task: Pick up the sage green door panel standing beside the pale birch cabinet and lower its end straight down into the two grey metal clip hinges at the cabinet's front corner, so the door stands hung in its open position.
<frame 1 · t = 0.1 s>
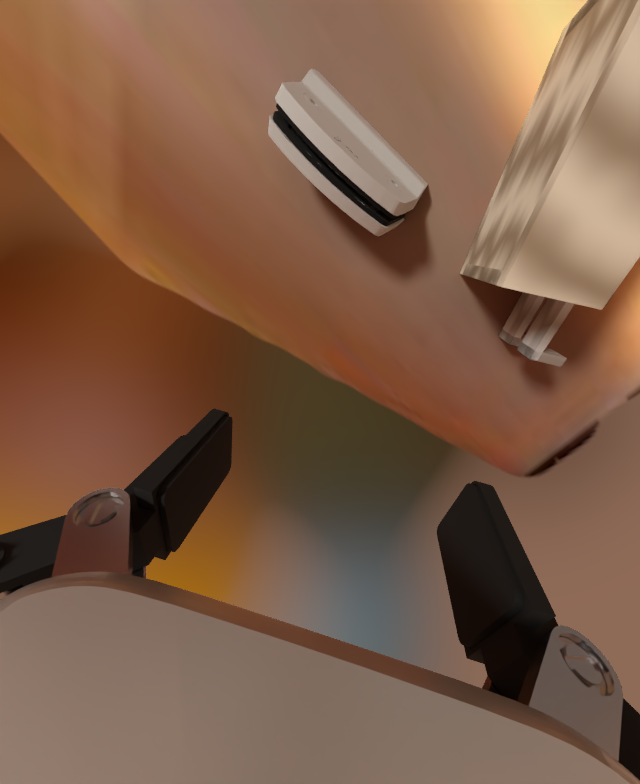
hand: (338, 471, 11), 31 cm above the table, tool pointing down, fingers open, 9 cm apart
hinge: (351, 168, 31), on the table
cabinet: (540, 180, 28), on the table
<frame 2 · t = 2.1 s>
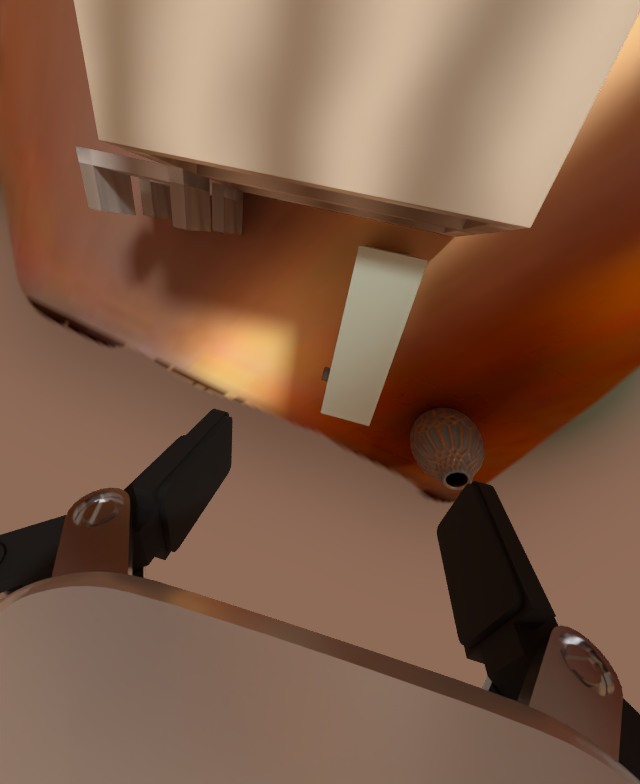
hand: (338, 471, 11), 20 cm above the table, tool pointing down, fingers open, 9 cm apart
vase: (438, 422, 31), on the table
door: (369, 316, 27), on the table
cabinet: (350, 152, 21), on the table
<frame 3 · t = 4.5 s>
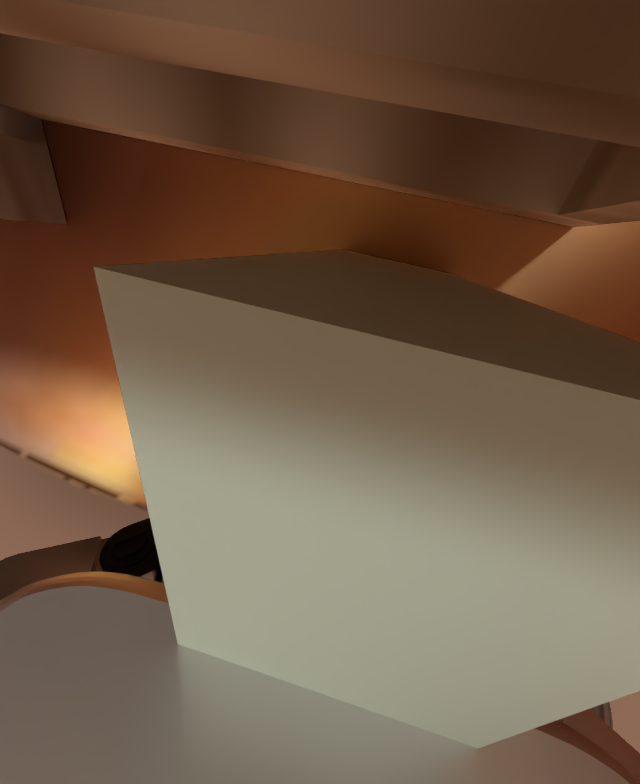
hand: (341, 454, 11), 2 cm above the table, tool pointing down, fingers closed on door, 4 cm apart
vase: (482, 570, 17), on the table
door: (354, 398, 13), on the table, touching gripper
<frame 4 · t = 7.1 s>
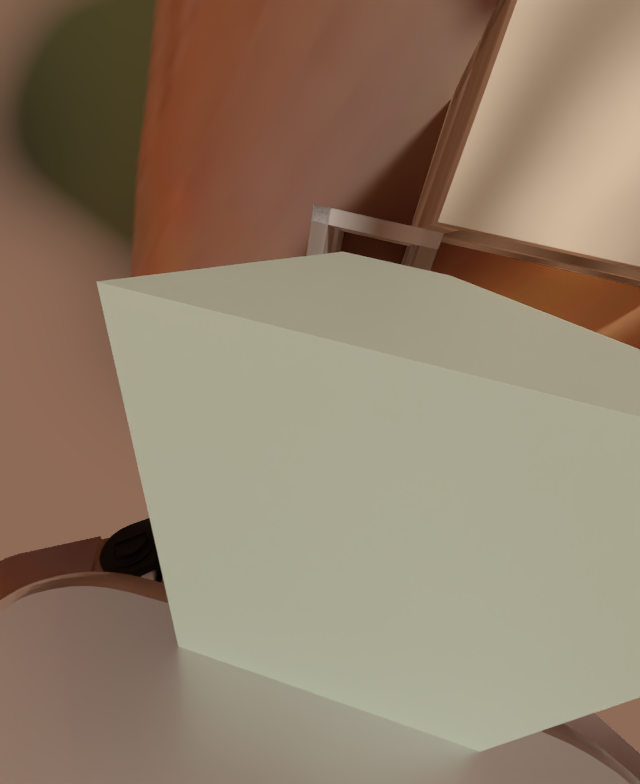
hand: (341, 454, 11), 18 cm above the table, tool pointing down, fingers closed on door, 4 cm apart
door: (354, 399, 13), point 15 cm above the table, touching gripper
cabinet: (564, 202, 19), on the table
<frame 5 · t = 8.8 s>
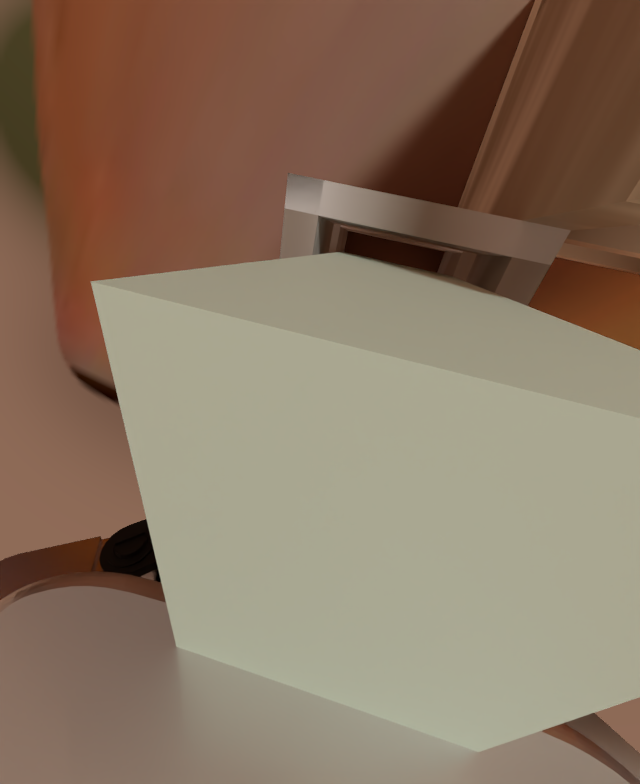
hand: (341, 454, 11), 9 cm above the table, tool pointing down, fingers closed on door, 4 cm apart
door: (354, 399, 13), point 6 cm above the table, touching gripper
when the fingers open (4 cm above the table, at t = 10.1 s): door drops 1 cm, on the table.
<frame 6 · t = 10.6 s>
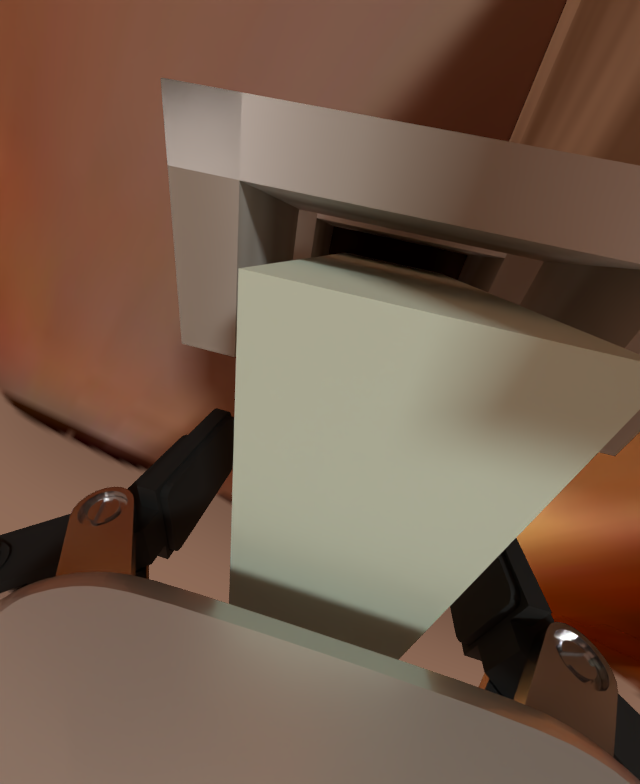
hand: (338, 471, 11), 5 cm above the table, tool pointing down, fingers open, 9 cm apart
door: (356, 386, 14), on the table
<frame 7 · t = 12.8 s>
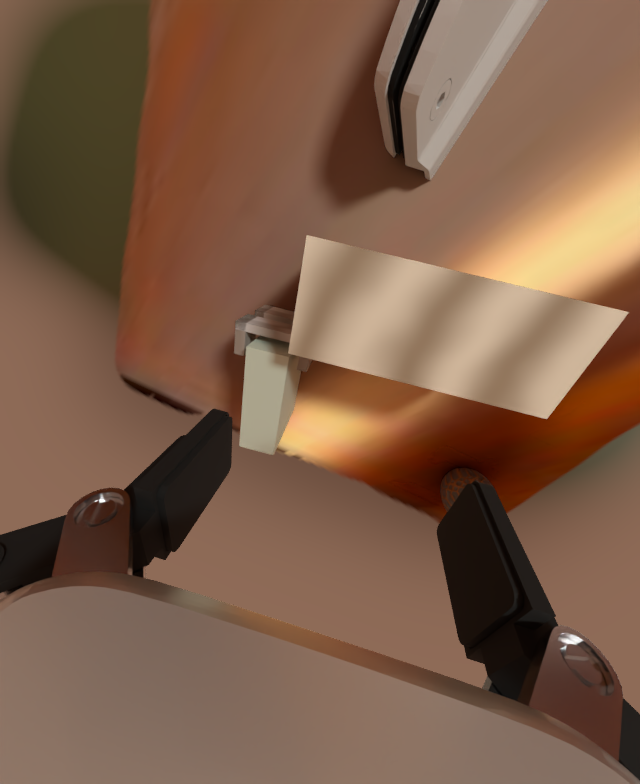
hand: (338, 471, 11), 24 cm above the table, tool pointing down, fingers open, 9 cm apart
vase: (459, 476, 40), on the table
door: (286, 368, 36), on the table
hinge: (462, 38, 21), on the table
cabinet: (409, 303, 30), on the table
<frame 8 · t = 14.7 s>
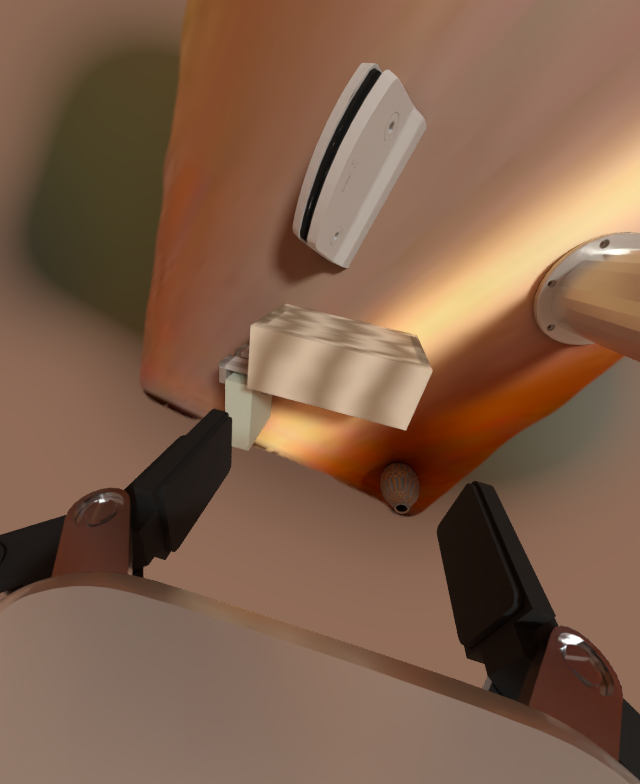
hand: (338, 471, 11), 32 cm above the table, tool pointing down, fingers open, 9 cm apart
vase: (398, 469, 52), on the table
door: (262, 387, 48), on the table
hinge: (355, 188, 32), on the table
cabinet: (344, 344, 42), on the table
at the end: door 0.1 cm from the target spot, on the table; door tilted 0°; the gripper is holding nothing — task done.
